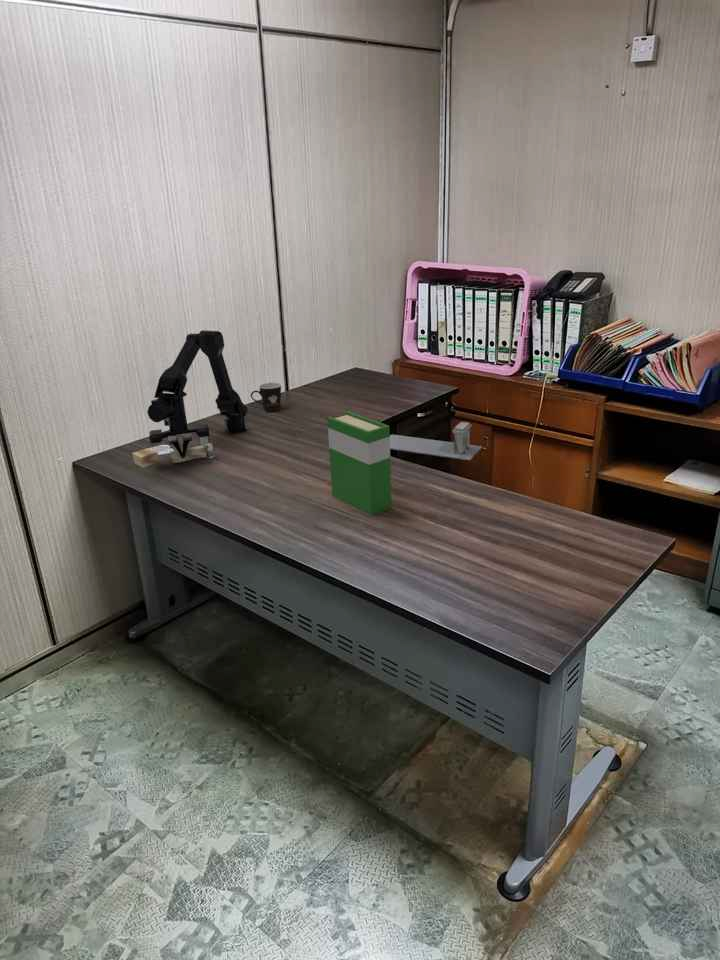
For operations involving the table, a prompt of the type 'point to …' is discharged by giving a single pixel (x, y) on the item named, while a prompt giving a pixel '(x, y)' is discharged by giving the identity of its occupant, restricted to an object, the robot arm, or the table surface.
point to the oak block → (145, 457)
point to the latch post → (203, 440)
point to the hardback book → (360, 462)
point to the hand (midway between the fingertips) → (183, 458)
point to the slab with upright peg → (439, 444)
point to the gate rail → (189, 454)
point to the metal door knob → (209, 451)
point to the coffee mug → (270, 396)
